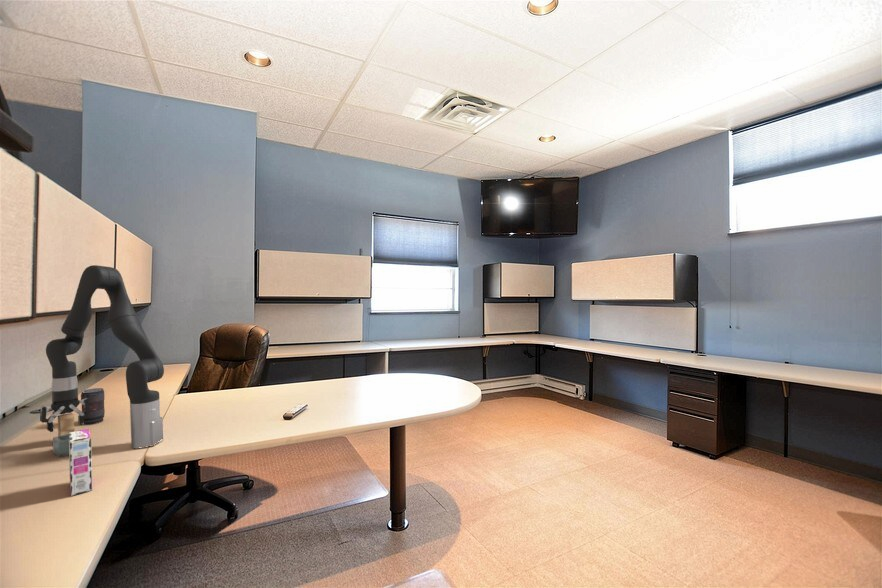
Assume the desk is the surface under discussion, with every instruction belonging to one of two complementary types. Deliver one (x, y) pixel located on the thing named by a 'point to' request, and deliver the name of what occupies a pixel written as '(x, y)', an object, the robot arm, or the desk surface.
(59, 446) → the slate open square box
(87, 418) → the camera lens
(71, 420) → the tan wooden block
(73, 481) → the candy bar box
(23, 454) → the desk surface
